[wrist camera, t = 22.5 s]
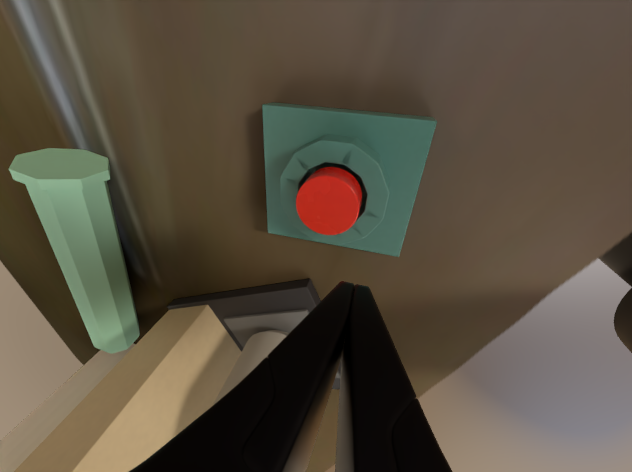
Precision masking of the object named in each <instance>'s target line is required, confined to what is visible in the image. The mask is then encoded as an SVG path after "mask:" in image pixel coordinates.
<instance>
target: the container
mask: <svg viewBox="0 0 632 472" xmlns="http://www.w3.org/2000/svg"><path fill="white" fill-rule="evenodd" d="M9 170H10V173H11V175H12V177H13V179H14V180H16V181H18V182H21V183H24V184H25V185H26V187H27V190H28V192H29V195H30V197H31V199H32V202H33V204H34V206H35V209H36V211H37V213H38V216H39V218H40V220H41V223H42V225H43V228H44V230H45V232H46V235H47V237H48V239H49V242H50V244H51V246H52V249H53V251H54V253H55V256H56V258H57V260H58V263H59V265H60V268H61V270H62V272H63V275H64V277H65V279H66V282H67V284H68V286H69V289H70V291H71V293H72V296H73V298H74V300H75V303H76V305H77V308H78V310H79V312H80V315H81V317H82V319H83V322H84V324H85V326H86V329H87V331H88V333H89V336H90V338H91V341H92V343H93V345H94V347H95V348H98V349H100V350H103V351H105V352H107V353H111V354H113V353H116V352H120V351H123V350H126V349H128V348H129V347H130V346H131V345H132V344H133V343H134V341H135V340H136V339H137V338H138V337H139V335H140V332H139V322H138V317H137V313H136V308H135V304H134V299H133V295H132V291H131V286H130V282H129V277H128V273H127V268H126V264H125V259H124V255H123V251H122V246H121V242H120V237H119V233H118V228H117V224H116V219H115V215H114V211H113V206H112V202H111V197H110V193H109V188H108V184H107V180H110V164H109V160H108V158H106V157H104V156H101V155H98V154H96V153H93V152H90V151H87V150H81V149H59V148H47V149H42V150H38V151H33V152H29V153H24V154H19V155H16V156H15V158H14V160H13V162H12V164H11V165H10V167H9Z"/></svg>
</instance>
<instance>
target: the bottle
mask: <svg viewBox="0 0 632 472" xmlns="http://www.w3.org/2000/svg"><path fill="white" fill-rule="evenodd" d="M135 345H136V344H134V343H133V344H132V345H131V346H130V347H129V348H128V349H126V350H123V351H120V352H116V353H113V354H111V353H107V352H105V351H103V350H100V351H99V352H98V353H97V354H96V355H95V356H94V357H92V358H91V359H90V360H89V361H88V362H87V363H86V364H85V365H84V366H83V367H81V368H80V369H79V370H78V371H77V372H76V373H75V374H74V375H73V376H71V377H70V378H69V379H68V380H67V381H66V382H65V383H64V384H63V385H62V386H60V387H59V388H58V389H57V390H56V391H55V392H54V393H53V394H52V395H51V396H49V397H48V398H47V399H46V400H45V401H44V402H43V403H42V404H41V405H40V406H38V407H37V408H36V409H35V410H34V411H33V412H32V413H31V414H30V415H28V416H27V417H26V418H25V419H24V420H23V421H22V422H21V423H20V424H19V425H17V426H16V427H15V428H14V429H13V430H12V431H11V432H10V433H9V434H8V435H6V436H5V437H4V438H3V439H2V440H1V441H0V472H14V471H15V470H16V469H17V468H18V467H19V466H20V464H21V463H22V462H23V461H24V460H25V459H26V458H27V457H28V456H29V455H30V454H31V453H32V452H33V451H34V450H35V449H36V448H37V447H38V446H39V445H40V444H41V443H42V442H43V441H44V440H45V439H46V437H47V436H48V435H49V434H50V433H51V432H52V431H53V430H54V429H55V428H56V427H57V426H58V425H59V424H60V423H61V422H62V421H63V420H64V419H65V418H66V417H67V416H68V415H69V414H70V413H71V411H72V410H73V409H74V408H75V407H76V406H77V405H78V404H79V403H80V402H81V401H82V400H83V399H84V398H85V397H86V396H87V395H88V394H89V393H90V392H91V391H92V390H93V389H94V388H95V387H96V385H97V384H98V383H99V382H100V381H101V380H102V379H103V378H104V377H105V376H106V375H107V374H108V373H109V372H110V371H111V370H112V369H113V368H114V367H115V366H116V365H117V364H118V363H119V362H120V361H121V359H122V358H123V357H124V356H125V355H126V354H127V353H128V352H129V351H130V350H131V349H132V348H133V347H134V346H135Z"/></svg>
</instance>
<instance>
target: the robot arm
mask: <svg viewBox="0 0 632 472" xmlns="http://www.w3.org/2000/svg"><path fill="white" fill-rule="evenodd" d="M353 291H354V292H353ZM352 297H353V298H352ZM348 319H349V320H348ZM346 330H347V331H346ZM344 341H345V342H344ZM343 347H344V348H343ZM342 352H343V354H342ZM341 356H342V362H341V377H340V395H339V412H338V429H337V447H336V464H335V472H452V470H451V468H450V466H449V464H448V462H447V460H446V459H445V457H444V455H443V453H442V451H441V449H440V447H439V445H438V443H437V441H436V438H435V437H434V434H433V432H432V430H431V428H430V425H429V424H428V421H427V419H426V417H425V415H424V412H423V410H422V408H421V405H420V403H419V401H418V399H415V398H416V394H415V392H414V390H413V387H412V385H411V383H410V380H409V378H408V376H407V373H406V371H405V369H404V366H403V364H402V362H401V360H400V357H399V355H398V353H397V350H396V348H395V346H394V343H393V341H392V339H391V337H390V334H389V332H388V330H387V327H386V325H385V323H384V320H383V318H382V316H381V313H380V311H379V309H378V307H377V304H376V302H375V300H374V297H373V295H372V293H371V290H370V288H369V287H367V286H363V285H358V284H356V285H355V287H354V284H353V283H348V282H344V281H342V282H340V283H339V284H338V285H337V286H336V287H335V288H334V289H333V290H332V291H331V292H330V293H329V294H328V295H327V296H326V297H325V298H324V299H323V300H322V301H321V302H320V303H319V304H318V305H317V306H316V307H315V308H314V309H313V310H312V311H311V312H310V313H309V314H308V315H307V316H306V317H305V318H304V319H303V320H302V321H301V322H300V323H299V324H298V325H297V326H296V327H295V328H294V329H293V330H292V331H291V332H290V333H289V334H288V335H287V336H286V337H285V338H284V339H283V340H282V341H281V342H280V343H279V344H278V345H277V346H276V347H275V348H274V349H273V350H272V351H271V352H270V353H269V354H268V358H267V357H265V358H264V359H263V360H262V361H261V362H260V363H259V364H258V365H257V366H256V367H255V368H254V369H253V370H252V371H251V372H250V373H249V374H248V375H247V376H246V377H245V378H244V379H243V380H242V381H241V382H240V383H239V384H238V385H236V386H235V387H234V388H233V389H232V390H231V391H229V392H228V393H227V394H226V395H225V396H224V397H222V398H221V399H220V400H219V401H218V402H217V403H215V404H214V405H213V406H212V407H210V408H209V409H208V410H207V411H206V412H204V413H203V414H202V415H201V416H199V417H198V418H197V419H196V420H194V421H193V422H192V423H191V424H190V425H188V426H187V427H186V428H185V429H183V430H182V431H181V432H180V433H179V434H177V435H176V436H175V437H174V438H172V439H171V440H170V441H169V442H167V443H166V444H165V445H164V446H163V447H161V448H160V449H159V450H158V451H156V452H155V453H154V454H153V455H151V456H150V457H149V458H147V459H146V460H145V461H143V462H142V463H141V464H139V465H138V466H136V467H135V468H133V469H132V470H130V471H129V472H306V469H307V466H308V463H309V460H310V457H311V453H312V450H313V447H314V444H315V441H316V437H317V434H318V431H319V428H320V425H321V422H322V418H323V415H324V412H325V409H326V406H327V402H328V399H329V396H330V393H331V390H332V386H333V383H334V380H335V377H336V374H337V371H338V367H339V364H340V360H341Z"/></svg>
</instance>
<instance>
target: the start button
mask: <svg viewBox="0 0 632 472" xmlns="http://www.w3.org/2000/svg"><path fill="white" fill-rule="evenodd" d="M361 202H362V192H361V188H360V185H359V183H358V181H357V180H356V179H355V178H354V176H353V175H351V174H350V173H349V172H347V171H346V170H343V169H341V168H337V167H325V168H321V169H319V170H317V171H315V172H314V173H312V174H311V175H310V176H309V178H308V179H307V180H306V181H305V182H304V184H303V185H302V186H301V187H300V189H299V191H298V193H297V196H296V209H297V212H298V215H299V217H300V219H301V220H302V222H303V223H304V224H305V225H306V226H307V227H308V228H310V229H311V230H313V231H315V232H317V233H320V234H323V235H336V234H340V233H343V232H345V231H347V230H348V229H349V228H351V227H352V226H353V224H354V223H355V222H356V220H357V217H358V214H359V210H360V206H361Z"/></svg>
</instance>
